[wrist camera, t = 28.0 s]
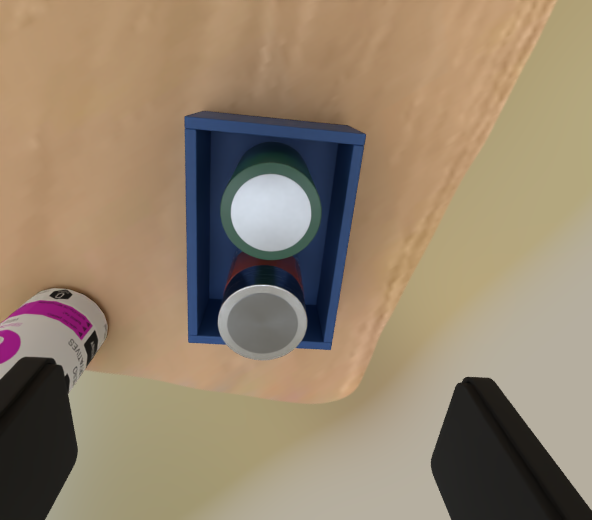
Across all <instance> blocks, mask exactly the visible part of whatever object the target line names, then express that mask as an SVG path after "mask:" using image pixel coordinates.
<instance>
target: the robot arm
mask: <svg viewBox="0 0 592 520" xmlns="http://www.w3.org/2000/svg"><path fill="white" fill-rule="evenodd" d="M77 452H78V448H77V442H76V437H75V431H74V425H73V420H72V415H71V409H70V403H69V397H68V392H67V386H66V381H65V375H64V370H63V367H62V366H61V365H57V364H56V361H55V360H54V359H53V358H47V357H23V358H21V359H20V360H18V361H17V362H16V364H15V365H14V366H13V367H12V368H11V369H10V370H9V371H8V372H7V373H6V374H5V375H4V376H3V377H2V378H1V379H0V520H45V519H46V517H47V515H48V513H49V511H50V509H51V508H52V506H53V504H54V502H55V500H56V498H57V496H58V495H59V493H60V491H61V489H62V487H63V485H64V483H65V481H66V480H67V478H68V475H69V474H70V472H71V470H72V468H73V466H74V464H75V462H76V458H77ZM431 468H432V473H433V476H434V478H435V481H436V483H437V486H438V488H439V491H440V493H441V496H442V498H443V500H444V503H445V505H446V508H447V510H448V513H449V515H450V517H451V520H592V510H591V509H590V508H589V507H588V505H587V504H586V503H585V501H584V500H583V499H582V497H581V496H580V495H579V493H578V492H577V491H576V489H575V488H574V487H573V485H572V484H571V483H570V481H569V480H568V479H567V477H566V476H565V475H564V473H563V472H562V471H561V469H560V468H559V467H558V465H557V464H556V463H555V461H554V460H553V459H552V457H551V456H550V455H549V453H548V452H547V451H546V449H545V448H544V447H543V445H542V444H541V443H540V442H539V440H538V439H537V437H536V436H535V435H534V433H533V432H532V431H531V429H530V428H529V427H528V426H527V424H526V423H525V422H524V420H523V419H522V418H521V416H520V415H519V414H518V412H517V411H516V410H515V408H514V407H513V406H512V404H511V403H510V402H509V400H508V399H507V398H506V396H505V395H504V394H503V392H502V391H501V390H500V388H499V387H498V386H497V384H496V383H495V382H494V381H493V380H492V379H490V378H479V377H466V378H464V379H463V381H462V383H458V384H457V385H456V387H455V390H454V393H453V396H452V399H451V402H450V405H449V408H448V411H447V414H446V417H445V420H444V422H443V425H442V428H441V431H440V435H439V437H438V440H437V443H436V446H435V450H434V452H433V455H432V459H431Z"/></svg>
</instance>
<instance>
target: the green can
mask: <svg viewBox="0 0 592 520" xmlns="http://www.w3.org/2000/svg"><path fill="white" fill-rule="evenodd" d="M220 217H221V222H222V225H223V228H224V230H225V232H226V234H227V236H228V238H229V239H230V240H231V242H232V243H233V244H234V245H235V246H236V247H237V248H238V249H240V250H241V251H243V252H244V253H246V254H248V255H250V256H252V257H255V258H259V259H264V260H280V259H284V258H288V257H290V256H293V255H295V254H297V253H299V252H300V251H302V250H303V249H304V248H305V247H306V246H308V245H309V243H310V242H311V241H312V240H313V238H314V237H315V235H316V233H317V231H318V229H319V226H320V223H321V217H322V207H321V201H320V197H319V194H318V192H317V189H316V187H315V185H314V182H313V180H312V177H311V175H310V173H309V170H308V168H307V165H306V163H305V161H304V159H303V158H302V157H301V155H300V154H299V153H298V152H297V151H296V150H294V149H293V148H292V147H290V146H288V145H286V144H283V143H279V142H264V143H260V144H258V145H255V146H254V147H252V148H251V149H249V150H248V151H247V152H246V153H245V154H244V155H243V156H242V158H241V159H240V161H239V163H238V165H237V167H236V169H235V171H234V173H233V175H232V177H231V179H230V181H229V183H228V185H227V187H226V189H225V191H224V193H223V196H222V199H221V205H220Z"/></svg>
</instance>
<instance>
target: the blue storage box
mask: <svg viewBox="0 0 592 520" xmlns="http://www.w3.org/2000/svg"><path fill="white" fill-rule="evenodd" d="M185 128H186V129H185V172H186V232H187V291H188V342H189V343H206V344H226V343H225V342H224V341H223V339H222V337H221V335H220V332H219V329H218V315H219V311H220V307H221V303H222V299H223V294H224V290H225V286H226V282H227V278H228V274H229V271H230V267H231V264H232V260H233V256H234V253H235V251H236V249H237V247H236V246H235V245H234V244H233V243H232V242H231V240H230V239H229V238H228V236H227V234H226V232H225V230H224V228H223V225H222V222H221V217H220V205H221V199H222V196H223V193H224V191H225V189H226V187H227V185H228V183H229V181H230V179H231V177H232V175H233V173H234V171H235V169H236V167H237V165H238V163H239V161H240V159H241V158H242V156H243V155H244V154H245V153H246V152H247V151H248V150H249V149H251V148H252V147H254V146H255V145H258V144H260V143H264V142H279V143H283V144H286V145H288V146H290V147H292V148H293V149H294V150H296V151H297V152H298V153H299V154H300V155H301V157H302V158H303V159H304V161H305V163H306V165H307V168H308V170H309V173H310V175H311V177H312V180H313V182H314V185H315V187H316V189H317V192H318V194H319V197H320V201H321V207H322V217H321V223H320V226H319V229H318V231H317V233H316V235H315V237H314V238H313V240H312V241H311V242H310V243H309V245H308V246H306V247H305V248H304V249H303V250H302V251H300V252H299V253H297V255H298V258H299V264H300V271H301V276H302V284H303V291H304V299H305V307H306V314H307V329H306V333H305V335H304V337H303V339H302V341H301V342H300V343H299V345H298V346H297V347H296V348H304V349H324V350H331V346H332V339H333V333H334V327H335V321H336V315H337V309H338V303H339V297H340V291H341V284H342V278H343V272H344V266H345V260H346V254H347V248H348V242H349V236H350V229H351V223H352V217H353V211H354V205H355V199H356V193H357V187H358V181H359V175H360V168H361V162H362V156H363V150H364V144H365V138H366V134H364V133H362V132H360V131H358V130H356V129H354V128H352V127H350V126H348V125H338V124H328V123H318V122H308V121H298V120H288V119H278V118H269V117H259V116H249V115H239V114H229V113H219V112H209V111H202V112H198V113H195V114H191V115H187V116H185Z"/></svg>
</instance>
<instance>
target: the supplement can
mask: <svg viewBox="0 0 592 520" xmlns="http://www.w3.org/2000/svg"><path fill="white" fill-rule="evenodd" d="M107 330H108V325H107V322H106V318H105V315H104V313H103V312H102V311H101V309H100V308H99V307H98V306H97V304H96V303H95V302H93V301H92V300H90V299H89V298H88V297H86V296H85V295H83V294H80V293H78V292H75V291H72V290H70V289H59V288H52V289H48V290H44V291H40V292H39V293H37V294H36V295H34V296H33V297H32V298H30V299H29V300H28V301H27V302H25V303H24V304H23V305H22V306H21V307H19V308H18V309H17V310H16V311H15V312H14V313H12V314H11V315H10V316H9V317H8V318H6V319H5V320H4V321H3V322H2V323H1V324H0V379H1V378H2V377H3V376H4V375H5V374H6V373H7V372H8V371H9V370H10V369H11V368H12V367H13V366H14V365H15V364H16V362H17V361H18V360H20V359H21V358H23V357H47V358H53V359H54V360H55V361H56V364H57V365H61V366H62V367H63V370H64V375H65V381H66V386H67V392H68V393H69V392H70V391H71V389H72V388H73V386H74V385H75V383H76V382H77V380H78V379H79V377H80V376H81V374H82V373H83V371H84V370H85V369H86V367H87V366H88V364H89V363H90V361H91V360H92V358H93V357H94V355H95V354H96V353H97V351H98V350H99V348H100V347H101V345H102V344H103V342H104V341H105V339H106V337H107Z"/></svg>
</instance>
